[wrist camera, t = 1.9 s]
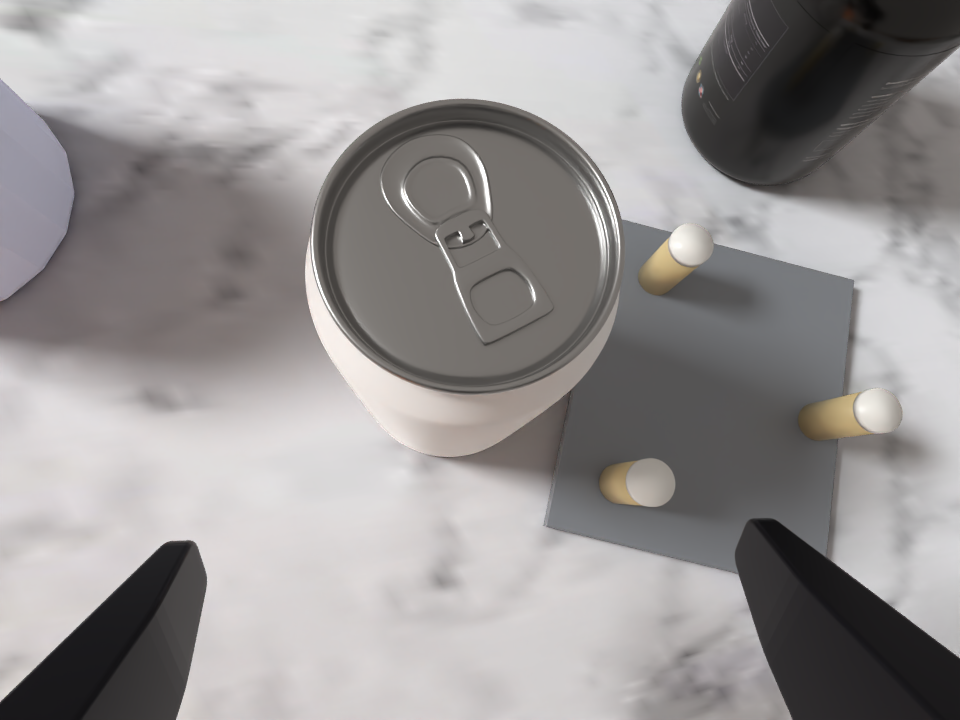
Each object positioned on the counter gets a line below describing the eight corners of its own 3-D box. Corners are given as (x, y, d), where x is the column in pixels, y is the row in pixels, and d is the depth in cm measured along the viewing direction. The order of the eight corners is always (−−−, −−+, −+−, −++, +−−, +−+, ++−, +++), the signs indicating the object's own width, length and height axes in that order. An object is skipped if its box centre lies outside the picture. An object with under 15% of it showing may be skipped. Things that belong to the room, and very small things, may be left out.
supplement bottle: (821, 55, 27) (1125, -283, 15) (836, 196, 25) (1186, -56, 14) (670, 42, 26) (865, -319, 15) (677, 185, 25) (899, -88, 13)
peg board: (811, 591, 22) (892, 612, 18) (543, 525, 21) (568, 532, 18) (843, 285, 24) (920, 247, 21) (606, 223, 24) (639, 173, 20)
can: (482, 259, 23) (536, 27, 12) (567, 405, 22) (717, 311, 11) (329, 335, 22) (221, 162, 11) (412, 491, 21) (392, 492, 10)
